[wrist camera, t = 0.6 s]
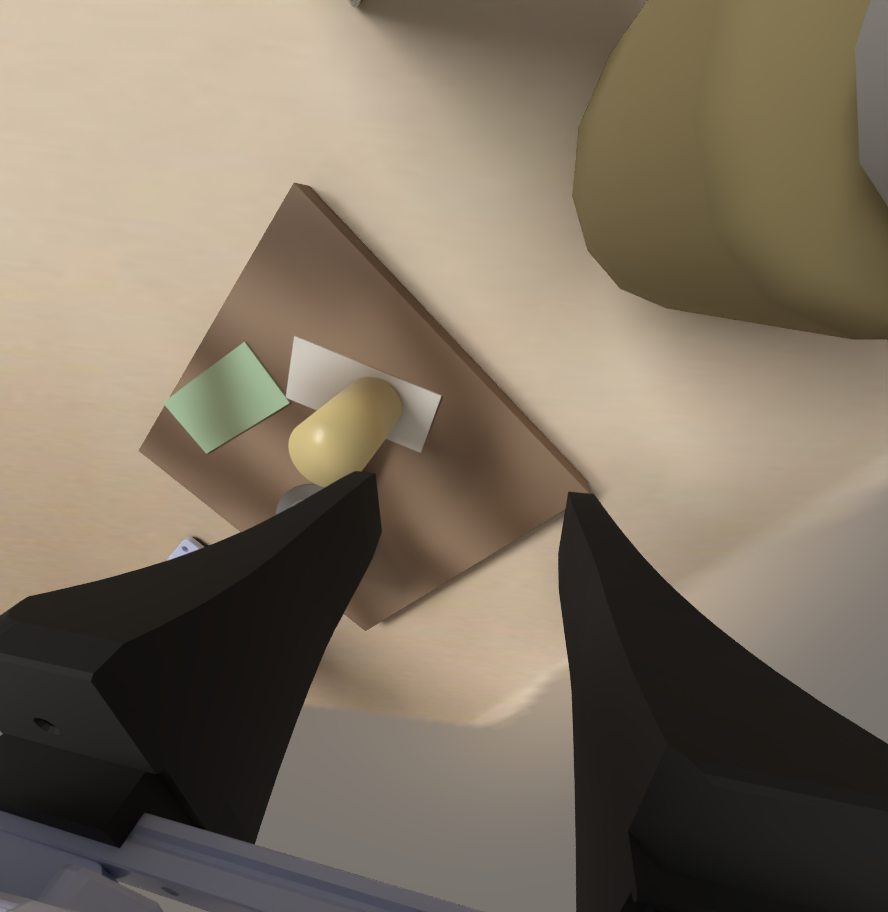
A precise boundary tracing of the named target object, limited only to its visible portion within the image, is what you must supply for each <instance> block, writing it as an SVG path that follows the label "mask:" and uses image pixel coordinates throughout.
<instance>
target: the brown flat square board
mask: <svg viewBox="0 0 888 912" xmlns="http://www.w3.org/2000/svg"><path fill="white" fill-rule="evenodd" d="M363 377H375V378H379V379H381V380H383V381H385V382H387V383H388V384H389V385H390V386H391V387H392V388H393V389H394V390H395V391H396V393H397V394H398V396H399V398H400V401H401V406H402V413H401V417H400V420H399V422H398V423H397V425H396V426H395V427H394V429H393V430H392V431H391V433H390V434H389V435H388V437H387V438H386V439H385V441H384V442H383V443H382V445H381V446H380V447H379V449H378V450H377V451H376V453H375V454H374V455H373V457H372V458H371V459H370V461H369V462H368V463H367V465H366V466H365V467H364V469H363V470H362V471H361V472H371V473H376V481H377V490H378V499H379V508H380V517H381V526H382V533H381V536H380V539H379V542H378V545H377V547H376V550H375V553H374V555H373V558H372V560H371V563H370V565H369V567H368V569H367V571H366V572H365V574H364V576H363V578H362V580H361V582H360V584H359V586H358V588H357V589H356V591H355V593H354V595H353V597H352V599H351V601H350V602H349V604H348V606H347V608H346V610H345V612H344V614H345V615H346V616H347V617H348V618H350V619H351V620H352V621H353V622H355V623H356V624H357V625H358V626H360V627H361V628H362V629H363V630H365V631H366V630H368V629H370V628H371V627H373V626H375V625H376V624H378V623H379V622H381V621H383V620H384V619H386V618H388V617H389V616H391V615H393V614H394V613H396V612H398V611H399V610H401V609H402V608H404V607H406V606H407V605H409V604H411V603H412V602H414V601H416V600H417V599H419V598H420V597H422V596H424V595H425V594H427V593H429V592H430V591H432V590H434V589H435V588H437V587H439V586H440V585H442V584H443V583H445V582H447V581H448V580H450V579H452V578H453V577H455V576H457V575H458V574H460V573H462V572H463V571H465V570H466V569H468V568H470V567H471V566H473V565H475V564H476V563H478V562H480V561H481V560H483V559H485V558H486V557H488V556H489V555H491V554H493V553H494V552H496V551H498V550H499V549H501V548H503V547H504V546H506V545H508V544H509V543H511V542H512V541H514V540H516V539H517V538H519V537H521V536H522V535H524V534H526V533H527V532H529V531H530V530H532V529H534V528H535V527H537V526H539V525H540V524H542V523H544V522H545V521H547V520H549V519H550V518H552V517H553V516H555V515H557V514H558V513H560V512H562V511H563V510H565V508H566V502H567V496H568V492H578V493H589V494H590V492H589V487H588V482H587V480H586V479H585V478H584V477H583V476H582V475H581V474H580V473H579V472H578V471H577V470H576V468H575V467H574V466H573V465H572V464H571V463H570V462H569V461H568V460H567V459H566V458H565V457H564V456H563V455H562V454H561V453H560V452H559V450H558V449H557V448H556V447H555V446H554V445H553V444H552V443H551V442H550V441H549V440H548V439H547V438H546V437H545V436H544V435H543V433H542V432H541V431H540V430H539V429H538V428H537V427H536V426H535V425H534V424H533V423H532V422H531V421H530V420H529V419H528V418H527V416H526V415H525V414H524V413H523V412H522V411H521V410H520V409H519V408H518V407H517V406H516V405H515V404H514V403H513V402H512V401H511V400H510V398H509V397H508V396H507V395H506V394H505V393H504V392H503V391H502V390H501V389H500V388H499V387H498V386H497V385H496V384H495V383H494V381H493V380H492V379H491V378H490V377H489V376H488V375H487V374H486V373H485V372H484V371H483V370H482V369H481V368H480V367H479V366H478V364H477V363H476V362H475V361H474V360H473V359H472V358H471V357H470V356H469V355H468V354H467V353H466V352H465V351H464V350H463V349H462V348H461V346H460V345H459V344H458V343H457V342H456V341H455V340H454V339H453V338H452V337H451V336H450V335H449V334H448V333H447V332H446V331H445V329H444V328H443V327H442V326H441V325H440V324H439V323H438V322H437V321H436V320H435V319H434V318H433V317H432V316H431V315H430V314H429V312H428V311H427V310H426V309H425V308H424V307H423V306H422V305H421V304H420V303H419V302H418V301H417V300H416V299H415V298H414V297H413V296H412V294H411V293H410V292H409V291H408V290H407V289H406V288H405V287H404V286H403V285H402V284H401V283H400V282H399V281H398V280H397V279H396V277H395V276H394V275H393V274H392V273H391V272H390V271H389V270H388V269H387V268H386V267H385V266H384V265H383V264H382V263H381V262H380V260H379V259H378V258H377V257H376V256H375V255H374V254H373V253H372V252H371V251H370V250H369V249H368V248H367V247H366V246H365V245H364V244H363V242H362V241H361V240H360V239H359V238H358V237H357V236H356V235H355V234H354V233H353V232H352V231H351V230H350V229H349V228H348V227H347V225H346V224H345V223H344V222H343V221H342V220H341V219H340V218H339V217H338V216H337V215H336V214H335V213H334V212H333V211H332V210H331V209H330V207H329V206H328V205H327V204H326V203H325V202H324V201H323V200H322V199H321V198H320V197H319V196H318V195H317V194H316V193H315V192H314V190H313V189H312V188H311V187H310V186H307V185H302V184H298V183H293V185H292V187H291V189H290V190H289V192H288V194H287V195H286V197H285V199H284V201H283V202H282V204H281V206H280V208H279V209H278V211H277V213H276V214H275V216H274V218H273V220H272V221H271V223H270V225H269V227H268V228H267V230H266V232H265V233H264V235H263V237H262V239H261V240H260V242H259V244H258V246H257V247H256V249H255V251H254V252H253V254H252V256H251V258H250V259H249V261H248V263H247V265H246V266H245V268H244V270H243V271H242V273H241V275H240V277H239V278H238V280H237V282H236V284H235V285H234V287H233V289H232V290H231V292H230V294H229V296H228V297H227V299H226V301H225V303H224V304H223V306H222V308H221V309H220V311H219V313H218V315H217V316H216V318H215V320H214V322H213V323H212V325H211V327H210V328H209V330H208V332H207V334H206V335H205V337H204V339H203V341H202V342H201V344H200V346H199V347H198V349H197V351H196V353H195V354H194V356H193V358H192V359H191V361H190V363H189V365H188V366H187V368H186V370H185V372H184V373H183V375H182V377H181V378H180V380H179V382H178V384H177V385H176V387H175V389H174V391H173V392H172V394H171V396H170V397H169V398H168V399H167V400H165V401H164V402H163V404H164V405H165V406H164V408H163V410H162V411H161V413H160V415H159V416H158V418H157V420H156V422H155V423H154V425H153V427H152V429H151V430H150V432H149V434H148V435H147V437H146V439H145V441H144V442H143V444H142V446H141V448H140V449H139V451H140V452H141V453H142V454H143V455H145V456H146V457H147V458H149V459H150V460H151V461H152V462H154V463H155V464H156V465H157V466H159V467H160V468H161V469H162V470H164V471H165V472H166V473H167V474H169V475H170V476H171V477H172V478H174V479H175V480H176V481H177V482H179V483H180V484H181V485H182V486H184V487H185V488H186V489H187V490H189V491H190V492H191V493H192V494H194V495H195V496H196V497H198V498H199V499H200V500H201V501H203V502H204V503H205V504H206V505H208V506H209V507H210V508H211V509H213V510H214V511H215V512H216V513H218V514H219V515H220V516H221V517H223V518H224V519H225V520H226V521H228V522H229V523H230V524H231V525H233V526H234V527H235V528H236V529H238V530H239V531H240V532H243V531H245V530H247V529H249V528H251V527H253V526H255V525H257V524H259V523H262V522H263V521H265V520H267V519H269V518H271V517H273V516H275V515H277V514H279V513H280V512H282V511H284V510H286V509H288V508H289V507H290V506H291V505H292V504H293V503H295V502H296V501H298V500H301V499H304V498H308V497H309V496H311V495H313V494H315V493H316V492H318V491H320V490H322V489H323V488H325V487H322V486H319V485H316V484H314V483H313V482H311V481H309V480H308V479H306V478H305V477H304V476H303V475H302V474H301V473H300V472H299V471H298V470H297V468H296V467H295V465H294V464H293V462H292V460H291V457H290V454H289V447H288V445H289V438H290V435H291V433H292V431H293V430H294V429H295V428H296V427H297V426H298V425H299V424H301V423H302V422H303V421H304V420H306V419H307V418H308V417H309V416H311V415H312V414H313V413H314V412H316V411H317V410H318V409H320V408H321V407H322V406H323V405H325V404H326V403H327V402H328V401H330V400H331V399H332V398H334V397H335V396H336V395H337V394H339V393H340V392H341V391H342V390H344V389H345V388H346V387H347V386H349V385H350V384H351V383H353V382H354V381H355V380H357V379H359V378H363Z"/></svg>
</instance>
